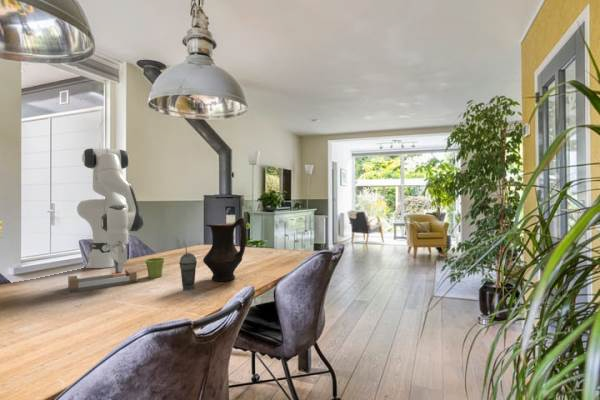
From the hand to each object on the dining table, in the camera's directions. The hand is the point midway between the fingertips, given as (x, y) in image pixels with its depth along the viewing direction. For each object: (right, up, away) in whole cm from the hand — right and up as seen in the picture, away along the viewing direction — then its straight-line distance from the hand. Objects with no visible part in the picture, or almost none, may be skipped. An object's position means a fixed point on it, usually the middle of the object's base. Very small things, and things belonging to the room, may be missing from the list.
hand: (118, 269), depth 160 cm
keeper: (0, -4, 0) cm, 4 cm away
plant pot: (+12, -6, +12) cm, 18 cm away
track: (-5, -6, -4) cm, 9 cm away
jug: (+49, -6, +5) cm, 50 cm away
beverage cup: (+37, -6, -12) cm, 39 cm away
